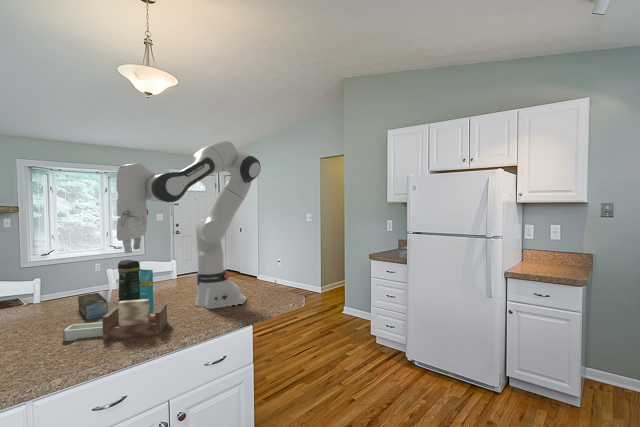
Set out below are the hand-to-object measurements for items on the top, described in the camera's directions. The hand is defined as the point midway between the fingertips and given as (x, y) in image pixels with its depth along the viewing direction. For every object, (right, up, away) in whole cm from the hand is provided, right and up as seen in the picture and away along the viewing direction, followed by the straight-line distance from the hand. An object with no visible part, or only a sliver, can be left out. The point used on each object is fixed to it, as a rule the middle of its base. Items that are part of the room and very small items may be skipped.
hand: (132, 251), depth 113 cm
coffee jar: (-28, -28, +46) cm, 61 cm away
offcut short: (+2, -26, +6) cm, 27 cm away
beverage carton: (-31, -29, +26) cm, 50 cm away
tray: (-16, -29, 0) cm, 33 cm away
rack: (0, -29, +3) cm, 29 cm away
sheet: (0, -29, +1) cm, 29 cm away
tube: (-6, -29, +20) cm, 36 cm away
